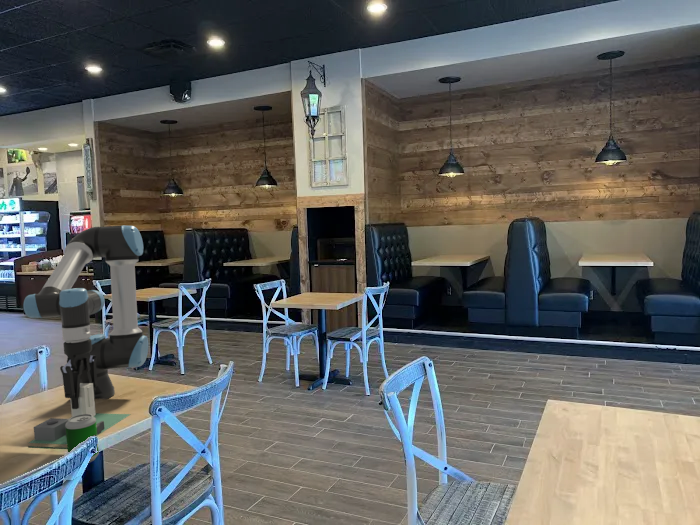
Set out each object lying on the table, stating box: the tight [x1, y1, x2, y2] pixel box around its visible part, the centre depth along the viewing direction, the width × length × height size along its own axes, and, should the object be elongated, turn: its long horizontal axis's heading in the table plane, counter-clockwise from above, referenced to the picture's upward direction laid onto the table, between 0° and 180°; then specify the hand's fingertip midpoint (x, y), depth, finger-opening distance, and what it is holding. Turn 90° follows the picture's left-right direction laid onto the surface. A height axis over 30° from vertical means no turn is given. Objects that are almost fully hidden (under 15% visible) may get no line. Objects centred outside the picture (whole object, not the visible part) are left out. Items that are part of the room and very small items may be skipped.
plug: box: [69, 383, 96, 417], centre depth 160 cm, size 4×6×10 cm
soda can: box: [65, 414, 100, 464], centre depth 145 cm, size 8×8×12 cm
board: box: [28, 412, 132, 450], centre depth 165 cm, size 24×18×6 cm
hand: (83, 415), depth 160 cm, fingers closed on plug, 4 cm apart
